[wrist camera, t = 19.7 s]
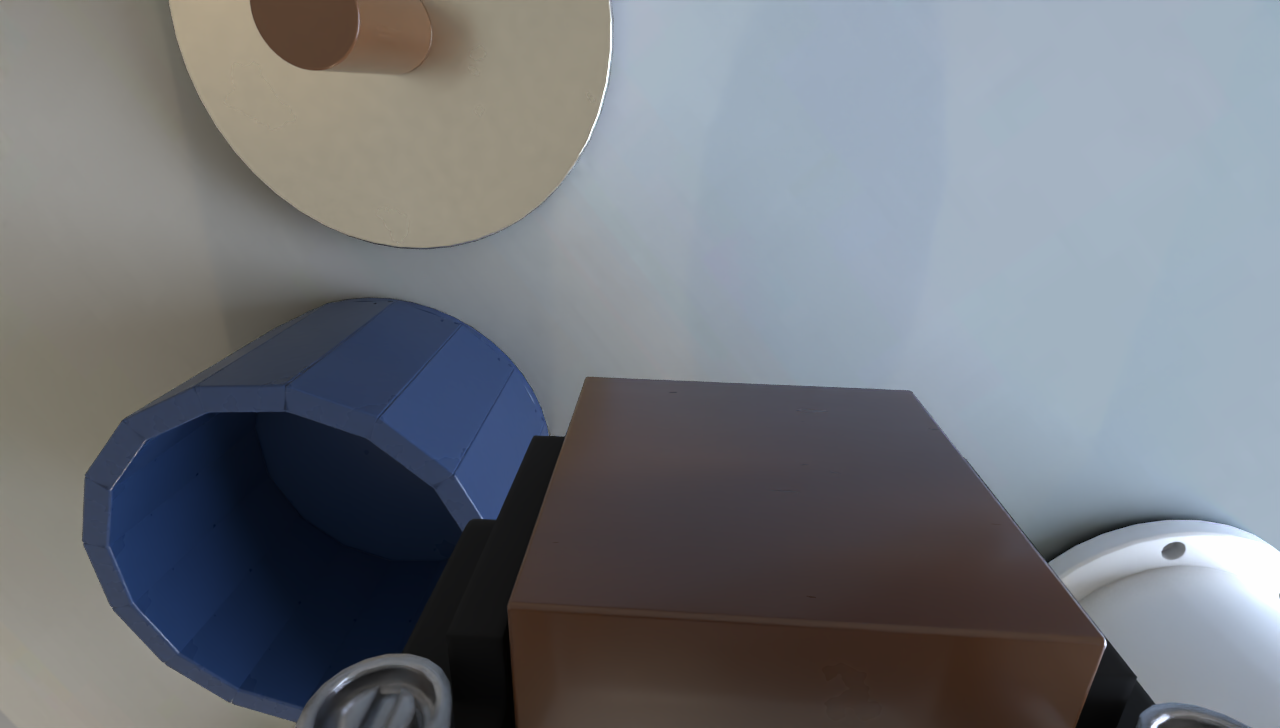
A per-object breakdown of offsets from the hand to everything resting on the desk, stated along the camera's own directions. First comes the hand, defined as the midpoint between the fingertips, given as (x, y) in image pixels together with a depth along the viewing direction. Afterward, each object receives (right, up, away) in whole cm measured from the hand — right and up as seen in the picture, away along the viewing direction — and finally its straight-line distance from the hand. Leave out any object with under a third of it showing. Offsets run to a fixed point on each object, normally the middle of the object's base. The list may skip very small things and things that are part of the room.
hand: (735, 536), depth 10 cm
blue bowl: (-11, -1, +17) cm, 21 cm away
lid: (-9, +13, +11) cm, 19 cm away
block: (0, 0, 0) cm, 0 cm away
